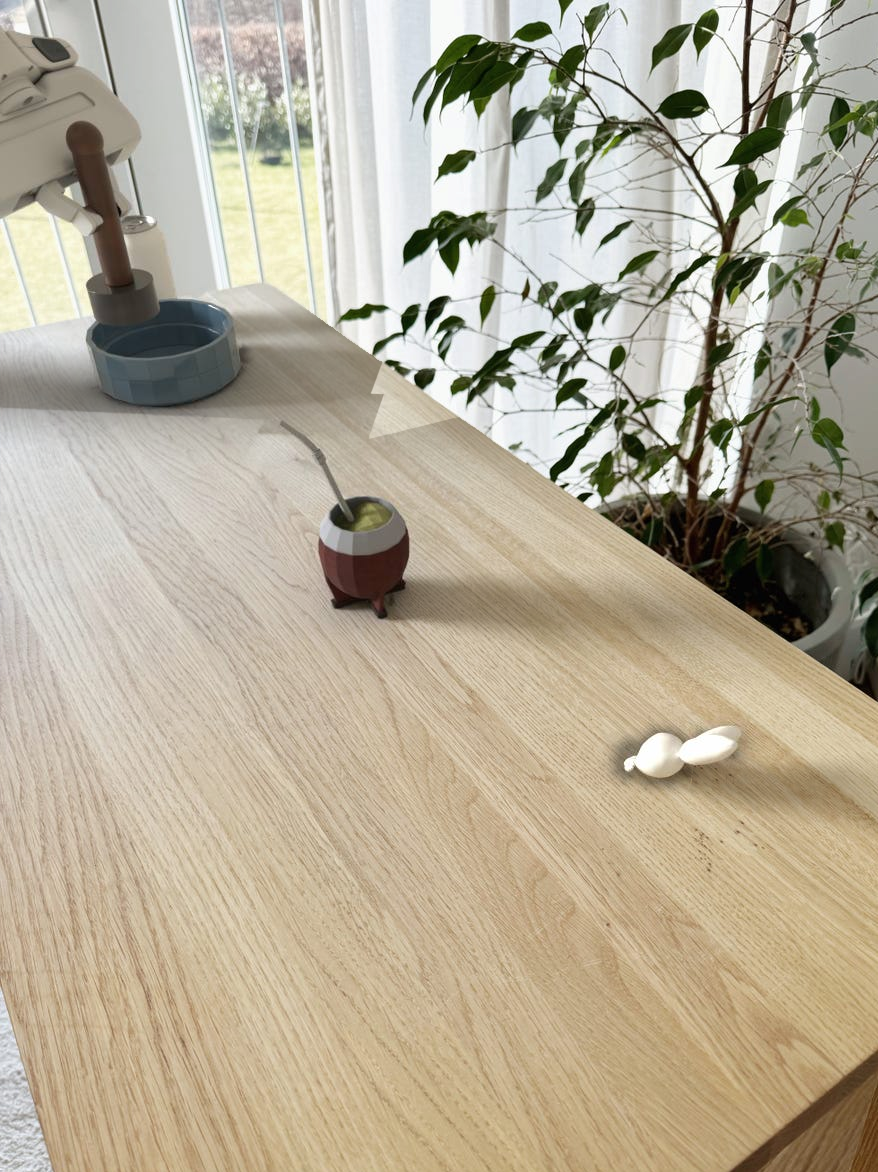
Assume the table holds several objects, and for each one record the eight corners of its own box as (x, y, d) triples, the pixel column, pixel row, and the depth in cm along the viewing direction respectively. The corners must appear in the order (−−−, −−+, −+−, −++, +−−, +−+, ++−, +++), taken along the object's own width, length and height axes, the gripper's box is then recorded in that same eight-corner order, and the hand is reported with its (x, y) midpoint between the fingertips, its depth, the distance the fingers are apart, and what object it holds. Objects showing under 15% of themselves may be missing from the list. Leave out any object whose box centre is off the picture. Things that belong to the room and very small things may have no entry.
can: (116, 335, 118) (89, 231, 110) (142, 313, 123) (119, 211, 115) (166, 341, 117) (143, 236, 109) (191, 318, 121) (171, 216, 114)
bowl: (77, 406, 105) (62, 357, 102) (128, 342, 117) (117, 296, 113) (218, 412, 104) (209, 363, 100) (256, 347, 115) (249, 301, 112)
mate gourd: (425, 608, 80) (417, 443, 70) (332, 636, 78) (310, 470, 68) (391, 558, 85) (379, 397, 75) (302, 583, 83) (277, 420, 73)
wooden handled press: (84, 324, 92) (29, 130, 81) (108, 297, 97) (60, 110, 86) (147, 327, 92) (101, 132, 81) (169, 300, 96) (128, 112, 85)
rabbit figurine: (626, 735, 70) (739, 705, 67) (644, 788, 70) (757, 761, 67) (608, 754, 64) (730, 723, 62) (626, 812, 64) (749, 783, 62)
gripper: (-99, 92, 76) (43, 241, 79) (79, 35, 90) (192, 164, 93) (-120, 148, 80) (16, 287, 84) (53, 86, 94) (162, 208, 98)
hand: (110, 222), depth 89 cm, fingers closed on wooden handled press, 2 cm apart
